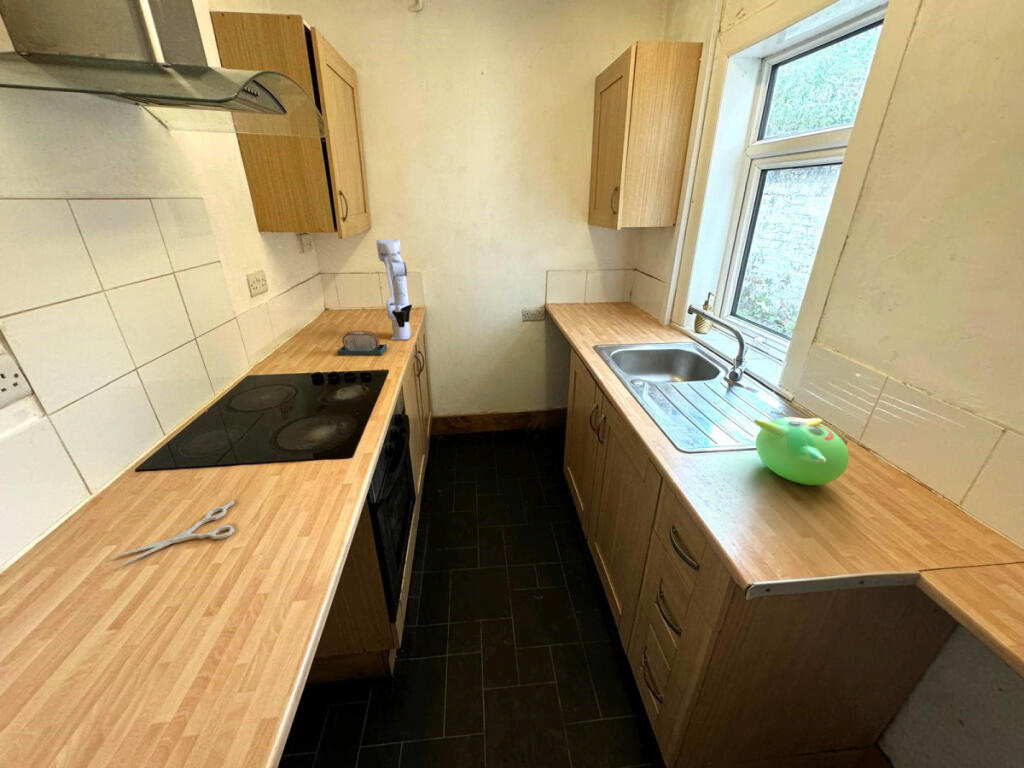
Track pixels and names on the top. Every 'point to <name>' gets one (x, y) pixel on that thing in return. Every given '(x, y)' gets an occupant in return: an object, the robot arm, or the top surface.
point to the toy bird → (801, 450)
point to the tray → (363, 351)
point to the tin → (361, 341)
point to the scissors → (190, 533)
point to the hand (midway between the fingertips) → (404, 324)
